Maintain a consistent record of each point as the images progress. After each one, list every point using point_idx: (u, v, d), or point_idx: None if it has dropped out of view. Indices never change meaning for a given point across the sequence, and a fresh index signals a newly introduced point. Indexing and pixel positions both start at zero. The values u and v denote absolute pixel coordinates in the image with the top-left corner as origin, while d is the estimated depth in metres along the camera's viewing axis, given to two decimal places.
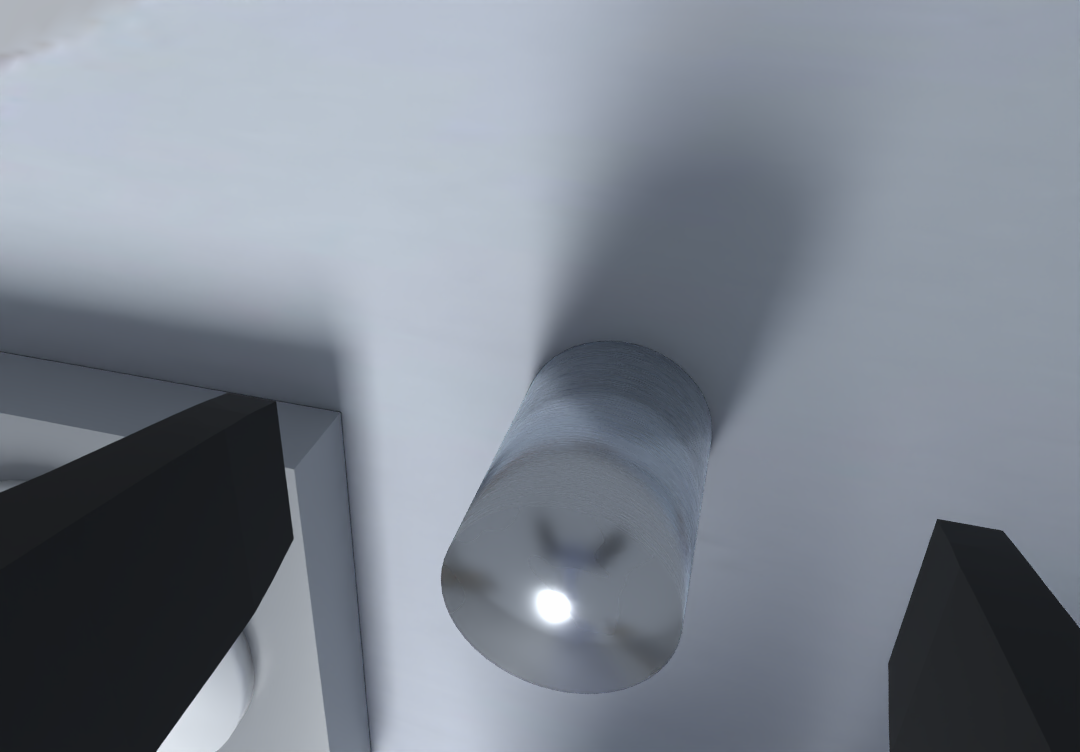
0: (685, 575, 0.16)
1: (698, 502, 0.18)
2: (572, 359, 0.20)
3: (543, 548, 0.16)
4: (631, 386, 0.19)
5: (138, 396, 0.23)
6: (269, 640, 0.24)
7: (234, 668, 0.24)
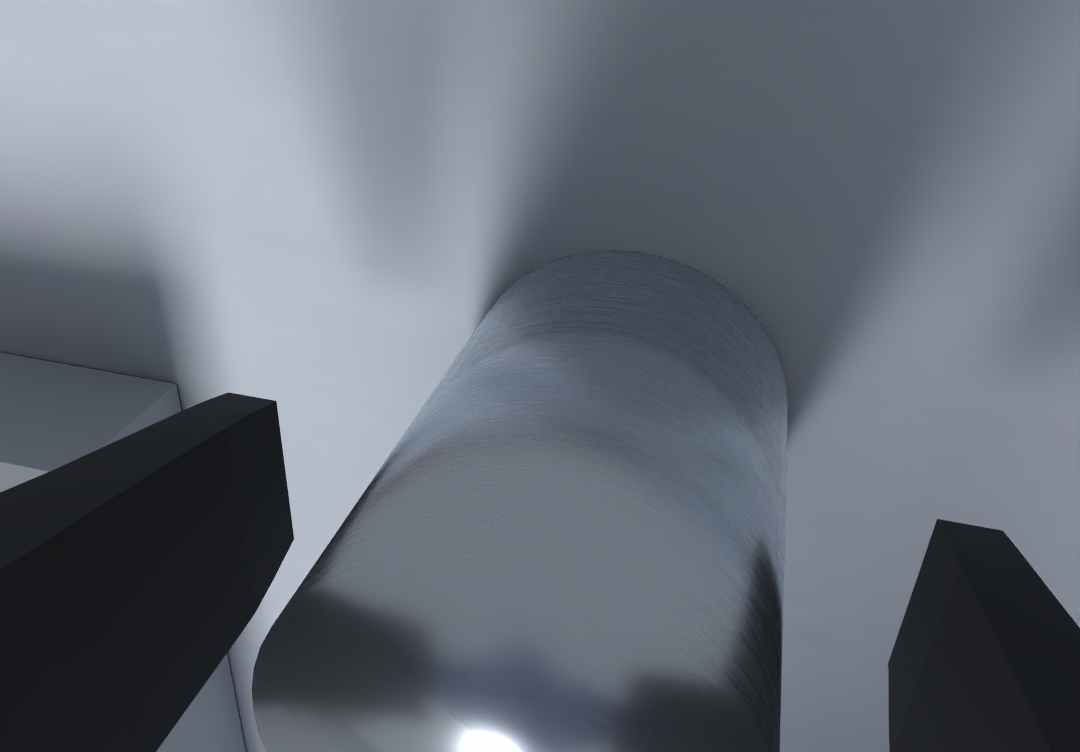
0: (778, 709, 0.07)
1: (783, 541, 0.09)
2: (544, 280, 0.11)
3: (461, 655, 0.07)
4: (652, 320, 0.10)
5: None
6: None
7: None
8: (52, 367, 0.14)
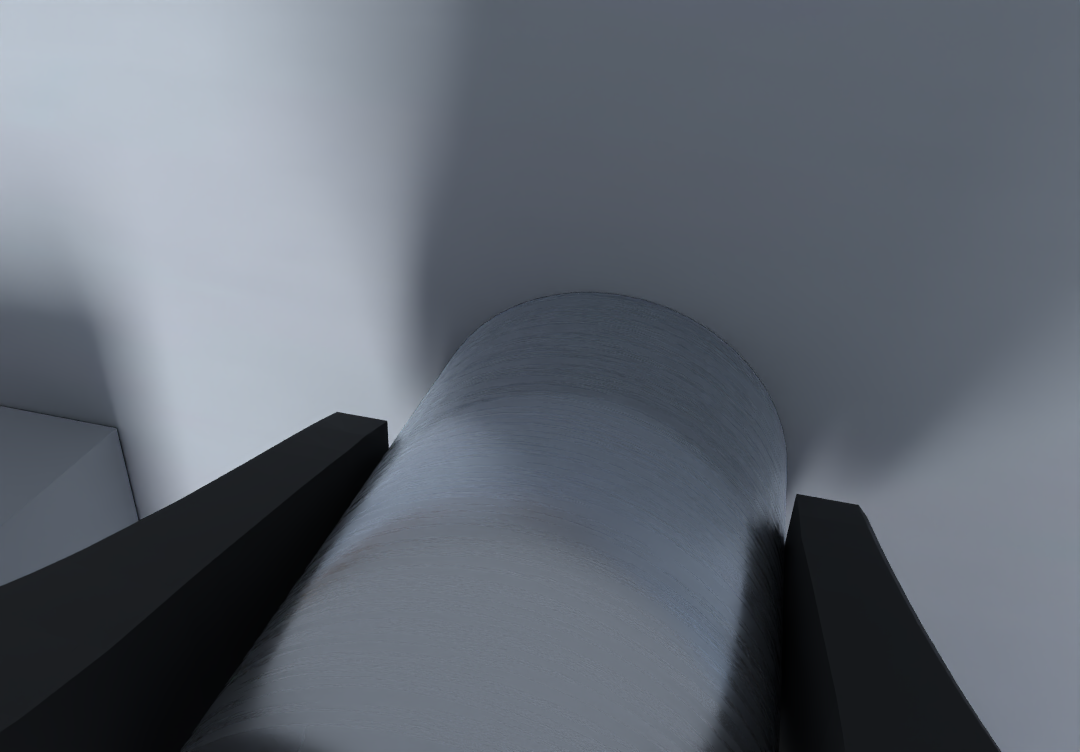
0: None
1: (780, 641, 0.08)
2: (511, 327, 0.10)
3: None
4: (630, 381, 0.09)
5: None
6: None
7: None
8: None
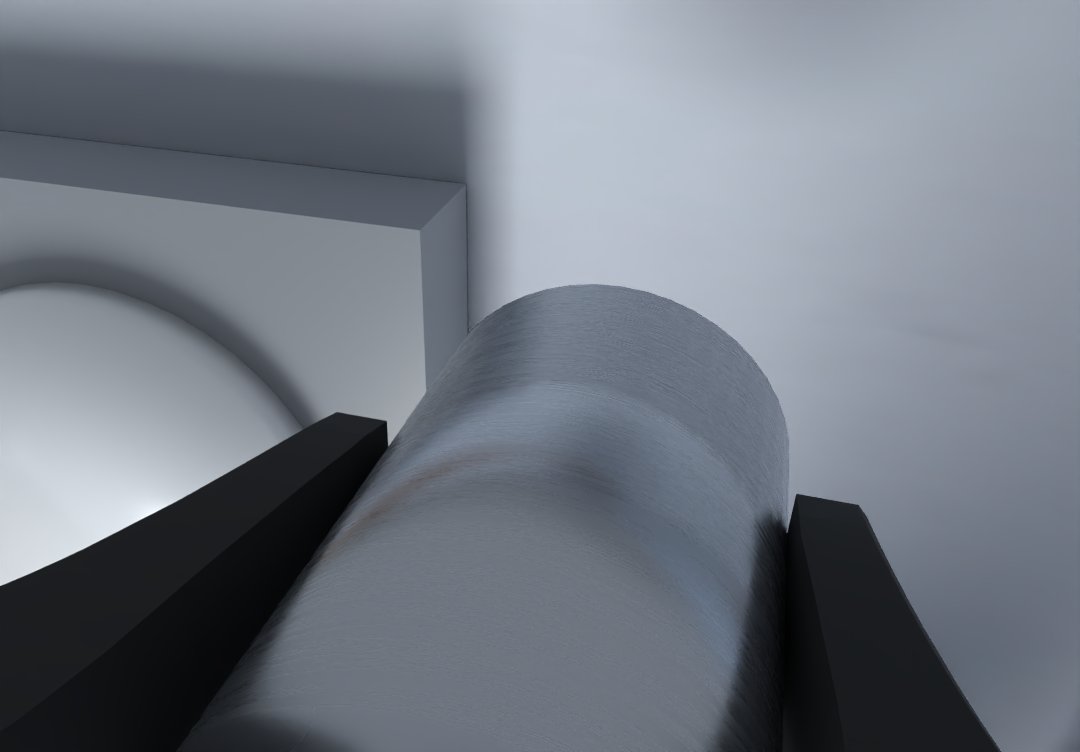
0: None
1: (783, 630, 0.08)
2: (516, 319, 0.10)
3: None
4: (635, 371, 0.09)
5: (197, 168, 0.18)
6: None
7: None
8: (360, 174, 0.18)
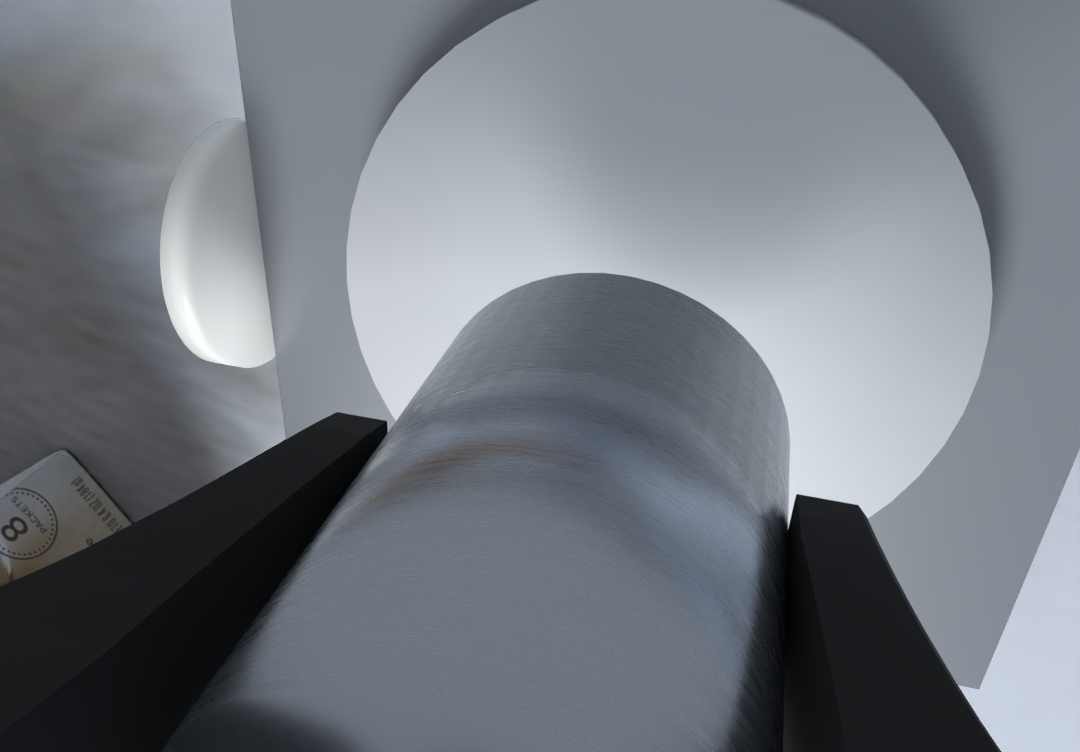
0: None
1: None
2: (523, 304, 0.10)
3: None
4: (645, 362, 0.09)
5: None
6: (1035, 296, 0.13)
7: (986, 340, 0.13)
8: None
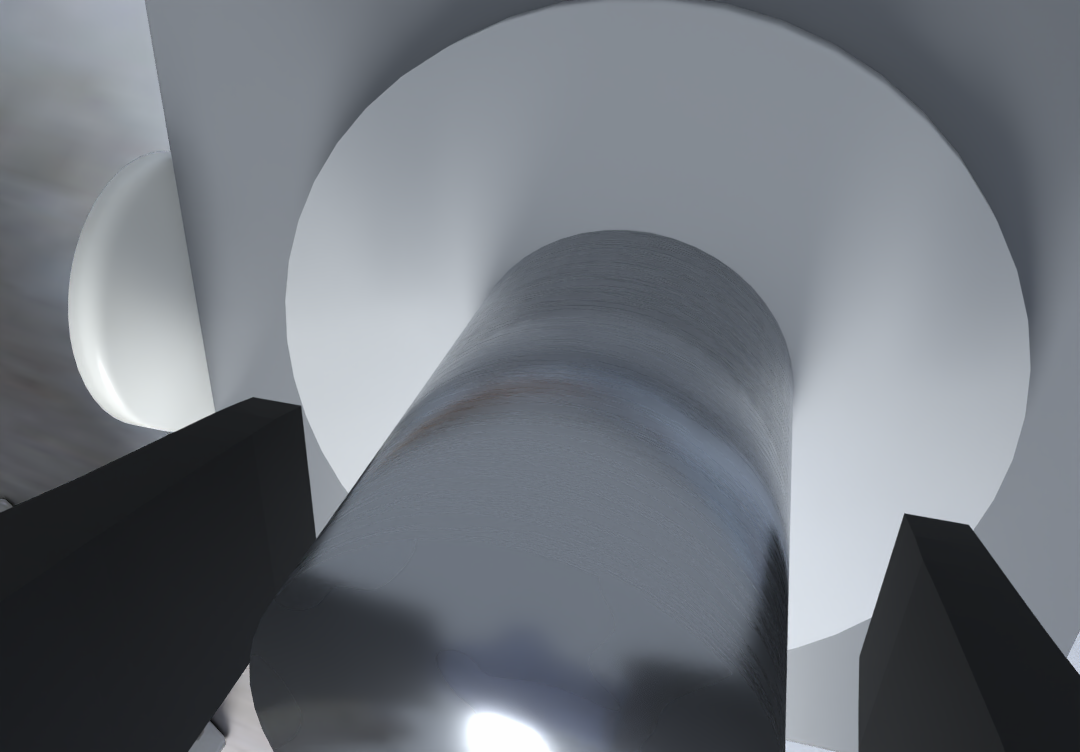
0: (785, 701, 0.07)
1: (789, 531, 0.09)
2: (555, 257, 0.11)
3: (470, 635, 0.07)
4: (666, 302, 0.10)
5: None
6: (1078, 367, 0.11)
7: (1022, 420, 0.11)
8: None
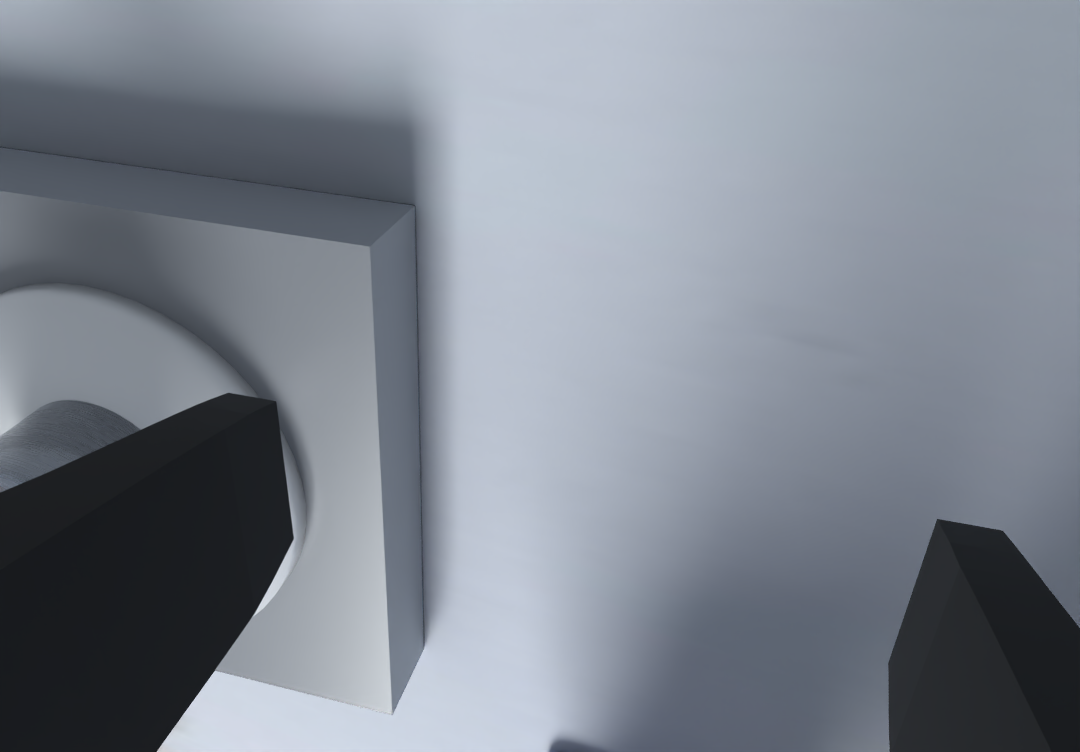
0: None
1: None
2: (32, 416, 0.21)
3: None
4: (54, 449, 0.20)
5: (183, 187, 0.20)
6: (326, 474, 0.21)
7: None
8: (324, 195, 0.20)
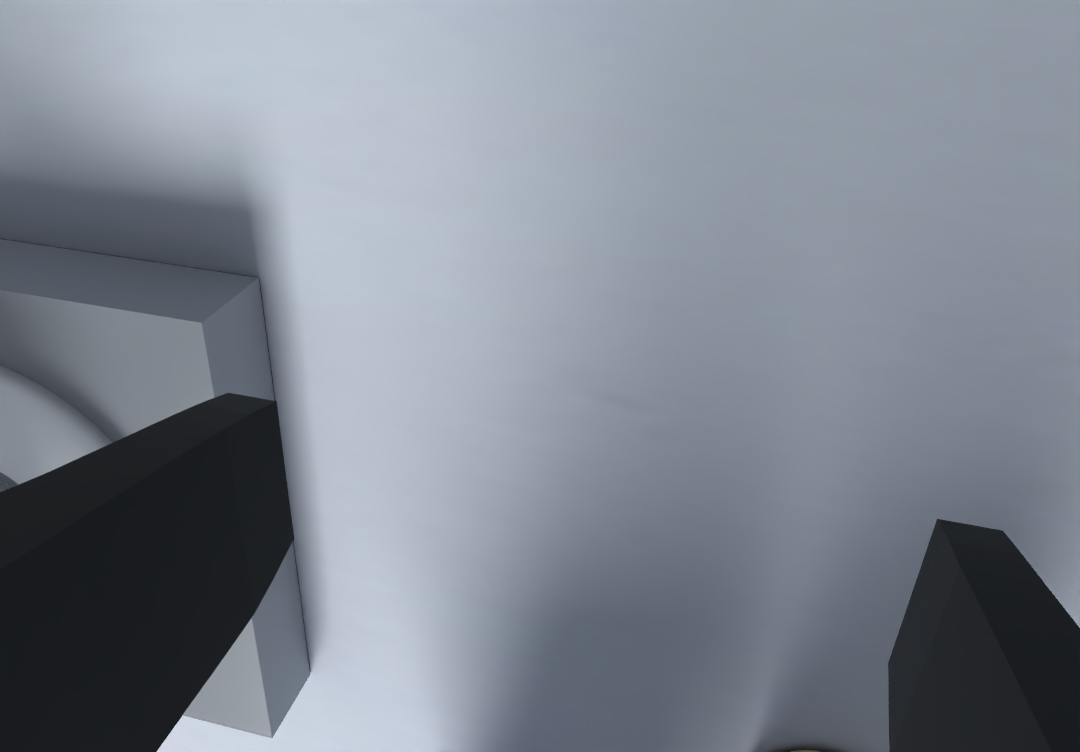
0: None
1: None
2: None
3: None
4: None
5: (49, 262, 0.22)
6: None
7: None
8: (177, 268, 0.22)
